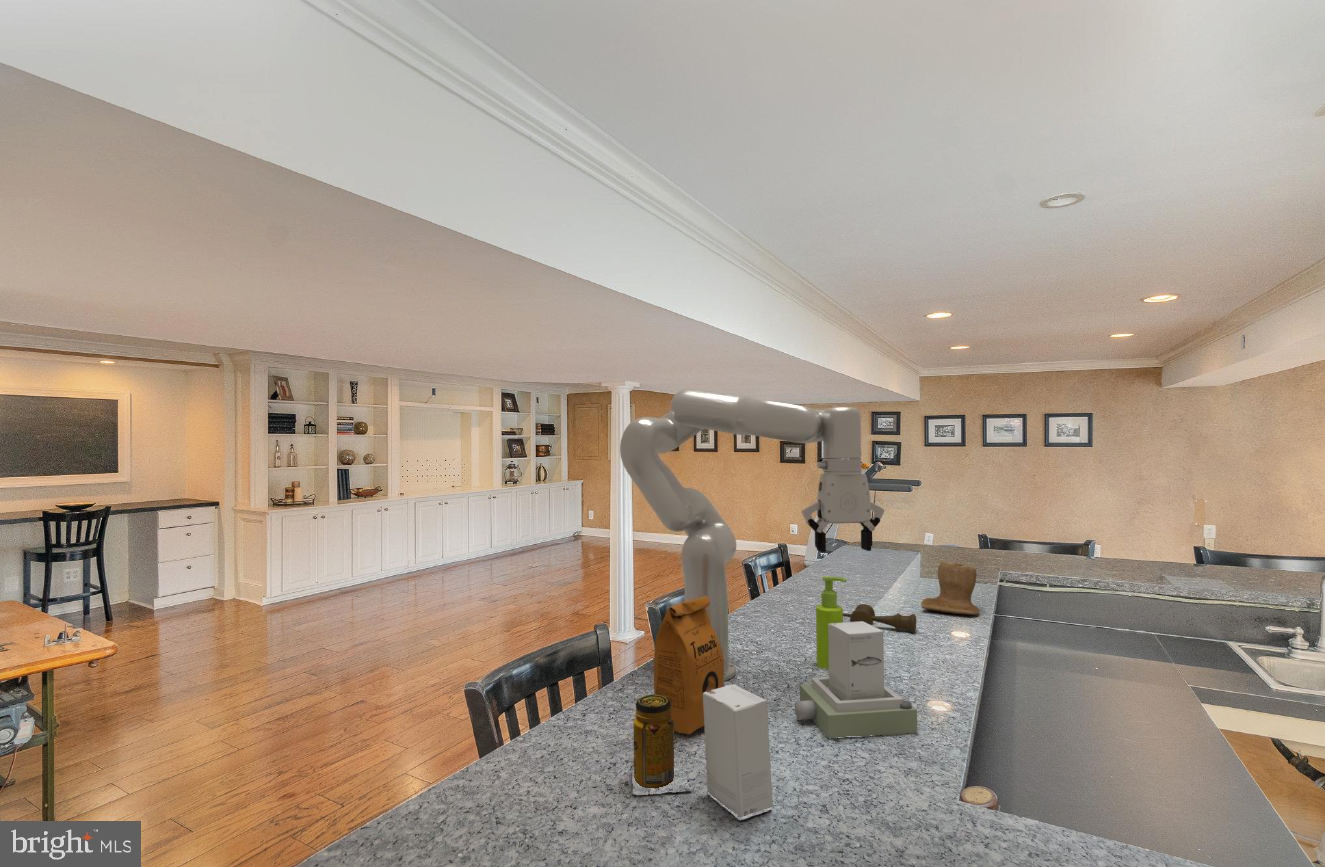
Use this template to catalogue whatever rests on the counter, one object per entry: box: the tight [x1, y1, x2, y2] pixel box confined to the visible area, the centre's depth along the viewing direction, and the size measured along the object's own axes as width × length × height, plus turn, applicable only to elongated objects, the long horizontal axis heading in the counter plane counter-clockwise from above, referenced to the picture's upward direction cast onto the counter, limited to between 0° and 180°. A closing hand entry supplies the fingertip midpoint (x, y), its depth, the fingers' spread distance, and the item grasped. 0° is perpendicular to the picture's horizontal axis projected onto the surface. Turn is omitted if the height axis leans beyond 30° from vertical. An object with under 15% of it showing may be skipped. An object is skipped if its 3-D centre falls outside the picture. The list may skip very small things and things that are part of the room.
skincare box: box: [703, 683, 774, 817], centre depth 87 cm, size 8×6×15 cm
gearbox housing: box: [794, 676, 918, 739], centre depth 113 cm, size 19×14×6 cm
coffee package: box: [653, 596, 725, 735], centre depth 112 cm, size 10×12×22 cm
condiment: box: [633, 694, 675, 788], centre depth 92 cm, size 7×8×12 cm
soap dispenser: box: [815, 575, 848, 670], centre depth 141 cm, size 6×7×20 cm
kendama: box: [843, 603, 917, 634], centre depth 170 cm, size 6×10×20 cm
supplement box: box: [828, 621, 885, 701], centre depth 113 cm, size 7×7×13 cm
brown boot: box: [920, 560, 980, 615], centre depth 186 cm, size 15×12×15 cm
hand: (843, 550), depth 127 cm, fingers open, 9 cm apart
